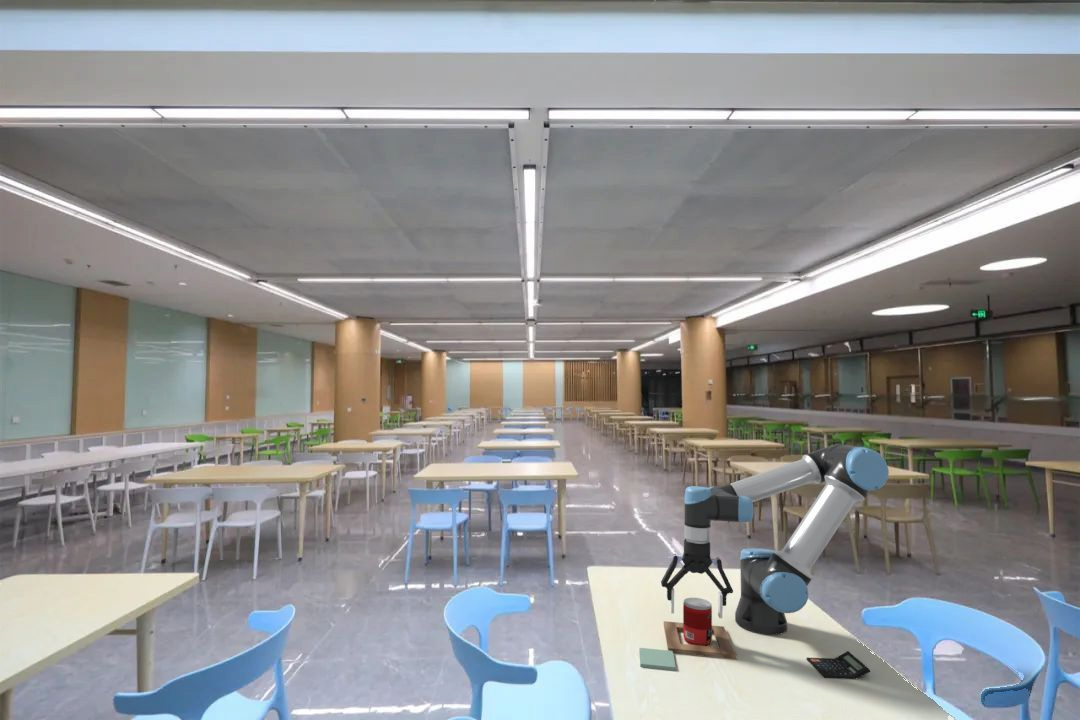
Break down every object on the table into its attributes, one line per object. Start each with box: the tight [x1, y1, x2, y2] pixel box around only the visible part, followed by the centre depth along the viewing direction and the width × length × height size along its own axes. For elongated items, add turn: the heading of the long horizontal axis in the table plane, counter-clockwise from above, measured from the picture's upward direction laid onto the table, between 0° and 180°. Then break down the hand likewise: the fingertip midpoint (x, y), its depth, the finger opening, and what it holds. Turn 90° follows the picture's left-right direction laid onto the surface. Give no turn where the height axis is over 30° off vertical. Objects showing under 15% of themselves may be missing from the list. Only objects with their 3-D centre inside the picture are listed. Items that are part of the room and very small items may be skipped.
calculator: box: [806, 650, 871, 680], centre depth 136 cm, size 9×12×3 cm
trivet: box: [638, 647, 677, 671], centre depth 139 cm, size 9×9×1 cm
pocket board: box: [663, 620, 737, 660], centre depth 151 cm, size 18×18×1 cm
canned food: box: [682, 597, 713, 646], centre depth 151 cm, size 8×8×11 cm
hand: (696, 614), depth 151 cm, fingers open, 13 cm apart
